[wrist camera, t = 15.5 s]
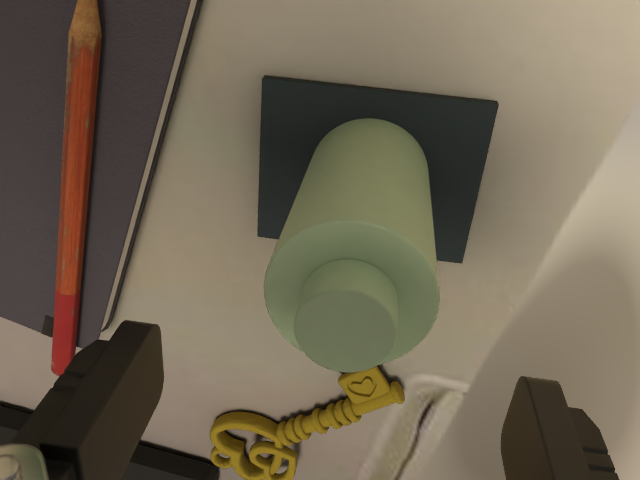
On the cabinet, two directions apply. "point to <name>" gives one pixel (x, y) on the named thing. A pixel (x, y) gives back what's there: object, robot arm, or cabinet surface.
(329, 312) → the bottle
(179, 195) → the cabinet surface
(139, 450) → the remote control
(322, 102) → the pad
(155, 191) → the cabinet surface
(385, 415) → the cabinet surface
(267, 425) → the key
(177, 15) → the notebook
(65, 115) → the pencil
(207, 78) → the cabinet surface
